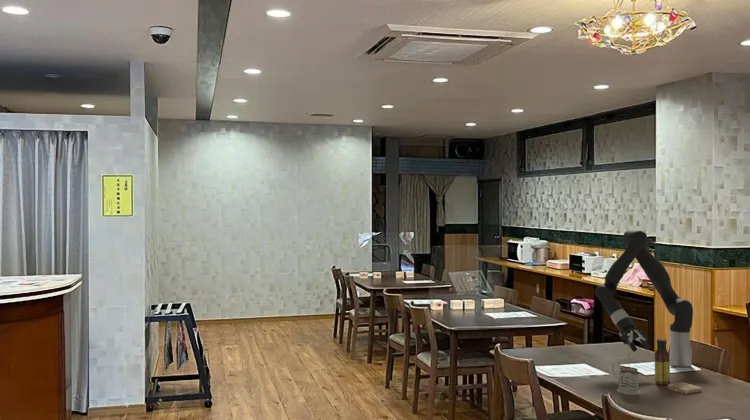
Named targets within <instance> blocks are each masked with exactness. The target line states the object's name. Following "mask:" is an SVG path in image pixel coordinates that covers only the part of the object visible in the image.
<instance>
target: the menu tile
mask: <svg viewBox="0 0 750 420" xmlns="http://www.w3.org/2000/svg"><path fill="white" fill-rule="evenodd" d="M669 389H670V391H673V390H674V391H673V392H676V391H678V392H677V393H679V392H681V393H680V394H683V393H685V394H684V395H689V394H688V393H692V394H694V393H693V392H697V393H699V392H698V391H701V392H702V387H701V386H697V385H695V384H690V383H687V382H683V381H682V382H677V383H670V384H669V385H667V390H669Z"/></svg>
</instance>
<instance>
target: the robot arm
mask: <svg viewBox="0 0 750 420" xmlns="http://www.w3.org/2000/svg"><path fill="white" fill-rule="evenodd" d="M648 238H649V237H648V235H647V234H646V232H645V231H643V230H638V229H627V230H626V231H625V232H624V233H623V235H622V241H623V244H624V246H625V247H626V248H625V249H624V250H623V252H622V254H621V255H620V256H619V257H618V258H617V259H616V260H615V261H614V262H613V263H612V264H611V266H610V268H609V269H608V271H607V272H606V274H605V276H604V284H599V285H597V286H596V287H595V290H594V295H595V296H596V298H597V299H598V301H599V302H600V304H602V305H603V307H604V309H605V310H606V312H607V314H608V315H609V317H610V318H611V320H612V322H613V323H614V325H615V326H616V328H617V329H618V330H619V332H618V334H617V335H618V337H619V338H620V340H621V341H622V343H623V344H624V345H627V346H629V336H627V334H628V333H630V334H632V336H630V349H631V351H632V352H633V353H634V352H636V351H638V348H637V346H636V345H635V343H634V342H633V341H634V340H635V341H637V342H639V343H641V345H642V346H643V348H644V349H645V350H646V351H649V349H650V344H649V343H648V342H647V340H648V339H649V338H648V336H647V335H646V333H645V332H644V331H643V329H642V328H639V329H636V328H635V323H634V322H633V320H632V318H631V317H630V315H629V313H627V312H626V311H625V310H624V307H622V305H621V304H620V302H619V301H618V300H617V299H616V297H614V296H615V293H616V292H617V288H618V285H619V284H620V281H621V280H622V278H623V276H624V274H625V273H626V271H627V270H628V268H629V267H630V265H631V264H632V263H633V261H634V260H635V259H636V261H637V262H638V264H639V266H640V267H641V268H642V271H643V272H644V274H645V275H646V277H647V278H648V280H649V281H650V283H651V284H652V286H653V287H654V289H655V290H656V292H657V293H658V294H659V296H660V298H661V300H662V302H663V303H664V306H665V308H666V309H667V311H668V312H669V313H670V314H671V316H674V321H673V323H670V325H669V361H670V366H674V367H678V368H679V367H680V368H689V367H692V366H693V365H692V362H693V361H692V354H693V350H692V349H693V347H692V346H691V328H692V327H693V320H694V319H693V316H694V308H693V305H692V303H691V302H690V301H689V300H687V299H683V298H680V297H679V295H678V294H677V292H676V291H675V290H674V287H673V285H672V281H671V277H670V274H669V273H668V270H666V267H664V265H663V263H661V261H660V260H659V259H658V258H656V257H655V256H654V255H653V254H652V253H651V252H650V250H648V249H647V247H646V245H647V244H648ZM688 366H689V367H688Z"/></svg>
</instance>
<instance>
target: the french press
mask: <svg viewBox="0 0 750 420" xmlns="http://www.w3.org/2000/svg"><path fill="white" fill-rule="evenodd" d="M627 336H629V345H628V350H630V349H631V348H630V336H632V334H630V333H628V334H627ZM618 359H619V360H617V361H615V362H614V363H613V365H612V366H611V368H612V370H611V372H612V374H613V376H614V377H615V378H616V379H618V387H617V389H616V392H618V393H619V394H625V395H631V396H632V395H634V396H636V395H639V394H641V393H642V392H641V391H640V389H639V372H638V370H639V369H638V368H637V367H633V366H632V367H631V366H620V365H621V362H625V363H629V364H631V363H639V362H640V359H639V358H637V357H635V356H634V355H630V354H628V355H622V356H621V357H619V358H618ZM617 363H618V365H619V366H620V368H619V369H620V370H619V375H616V373H615V365H616V364H617Z"/></svg>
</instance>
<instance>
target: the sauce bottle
mask: <svg viewBox="0 0 750 420" xmlns="http://www.w3.org/2000/svg"><path fill="white" fill-rule="evenodd" d="M656 344H657V345H656V351H655V353H654V380H655V383H656V384H657V385H661V386H668V385H670V384H671V365H670V361H669V359H670V352H669V351H668V350H667V339H665V338H657V339H656Z"/></svg>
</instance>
